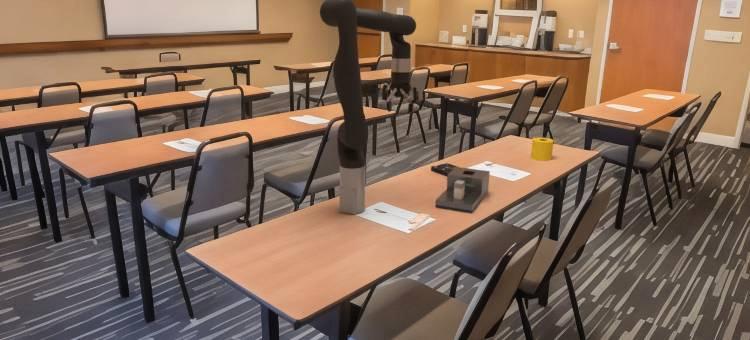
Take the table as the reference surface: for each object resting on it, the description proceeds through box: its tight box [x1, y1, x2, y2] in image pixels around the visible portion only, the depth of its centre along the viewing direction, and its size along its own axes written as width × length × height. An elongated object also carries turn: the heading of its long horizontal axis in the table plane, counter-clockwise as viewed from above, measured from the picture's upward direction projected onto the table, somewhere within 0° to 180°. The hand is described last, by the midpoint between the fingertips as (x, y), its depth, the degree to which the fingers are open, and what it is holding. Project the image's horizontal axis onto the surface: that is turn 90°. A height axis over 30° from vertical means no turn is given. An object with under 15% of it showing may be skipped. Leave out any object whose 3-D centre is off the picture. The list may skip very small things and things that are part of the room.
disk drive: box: [430, 162, 458, 178], centre depth 248 cm, size 10×3×15 cm
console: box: [435, 166, 491, 214], centre depth 214 cm, size 26×14×9 cm, turn 156°
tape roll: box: [530, 137, 554, 162], centre depth 273 cm, size 10×10×9 cm
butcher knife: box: [407, 213, 431, 231], centre depth 192 cm, size 5×15×1 cm, turn 152°
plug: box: [454, 180, 465, 200], centre depth 208 cm, size 4×3×8 cm
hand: (399, 112), depth 212 cm, fingers open, 8 cm apart
